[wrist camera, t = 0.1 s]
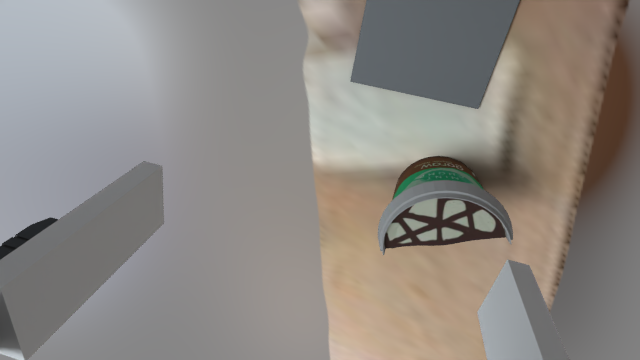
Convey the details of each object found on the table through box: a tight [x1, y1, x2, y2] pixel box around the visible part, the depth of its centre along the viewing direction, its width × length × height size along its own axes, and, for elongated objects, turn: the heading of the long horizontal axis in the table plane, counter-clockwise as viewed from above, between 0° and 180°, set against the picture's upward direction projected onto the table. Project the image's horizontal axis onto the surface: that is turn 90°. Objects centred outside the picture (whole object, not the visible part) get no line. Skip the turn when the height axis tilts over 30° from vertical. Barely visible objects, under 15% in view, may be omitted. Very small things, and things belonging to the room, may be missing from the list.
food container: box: [378, 156, 513, 255], centre depth 38 cm, size 12×6×10 cm, turn 105°
